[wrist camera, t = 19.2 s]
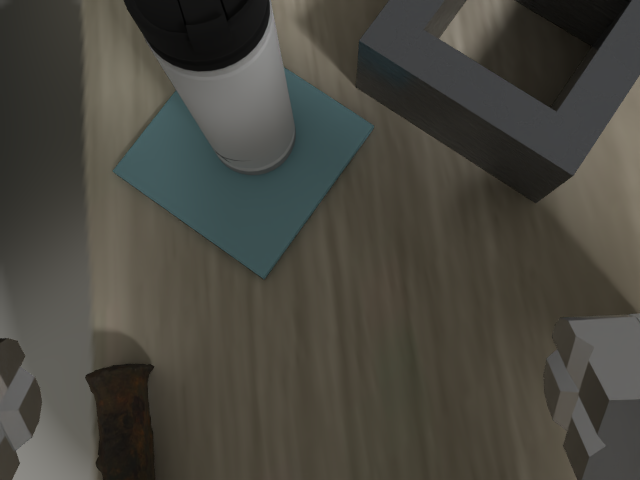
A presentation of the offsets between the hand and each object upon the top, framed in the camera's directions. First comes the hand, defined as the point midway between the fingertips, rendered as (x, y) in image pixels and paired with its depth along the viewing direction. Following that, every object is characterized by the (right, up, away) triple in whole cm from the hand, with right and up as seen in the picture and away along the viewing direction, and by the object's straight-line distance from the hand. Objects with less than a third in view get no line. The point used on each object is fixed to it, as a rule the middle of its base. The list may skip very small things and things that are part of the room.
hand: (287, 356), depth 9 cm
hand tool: (-11, -16, +32) cm, 37 cm away
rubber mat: (-5, +8, +36) cm, 37 cm away
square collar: (+14, +15, +36) cm, 42 cm away
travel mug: (-4, +9, +35) cm, 37 cm away
